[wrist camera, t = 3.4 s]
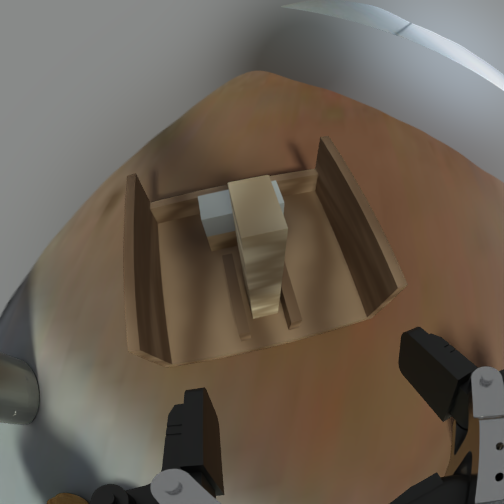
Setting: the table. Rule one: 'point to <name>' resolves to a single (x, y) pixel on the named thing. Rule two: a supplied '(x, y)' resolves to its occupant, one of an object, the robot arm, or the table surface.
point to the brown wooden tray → (231, 275)
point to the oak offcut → (223, 241)
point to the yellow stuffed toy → (66, 499)
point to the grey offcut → (223, 211)
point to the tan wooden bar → (259, 241)
